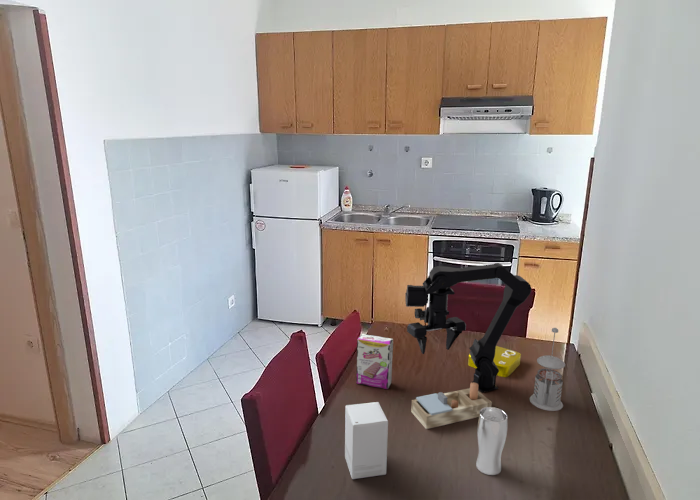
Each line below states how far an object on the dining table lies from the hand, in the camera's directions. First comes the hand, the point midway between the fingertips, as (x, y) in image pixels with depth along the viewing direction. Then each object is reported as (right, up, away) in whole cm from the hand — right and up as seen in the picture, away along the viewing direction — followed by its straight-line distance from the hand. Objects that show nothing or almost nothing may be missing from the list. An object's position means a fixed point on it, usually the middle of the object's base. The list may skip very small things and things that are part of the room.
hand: (435, 351), depth 154 cm
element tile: (+25, -9, +19) cm, 32 cm away
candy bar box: (-20, -12, +4) cm, 23 cm away
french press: (+33, -15, -6) cm, 37 cm away
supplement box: (-24, -21, -35) cm, 47 cm away
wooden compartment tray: (+3, -16, -12) cm, 20 cm away
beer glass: (+7, -22, -35) cm, 42 cm away
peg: (+10, -14, -10) cm, 20 cm away
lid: (-3, -12, -15) cm, 20 cm away
